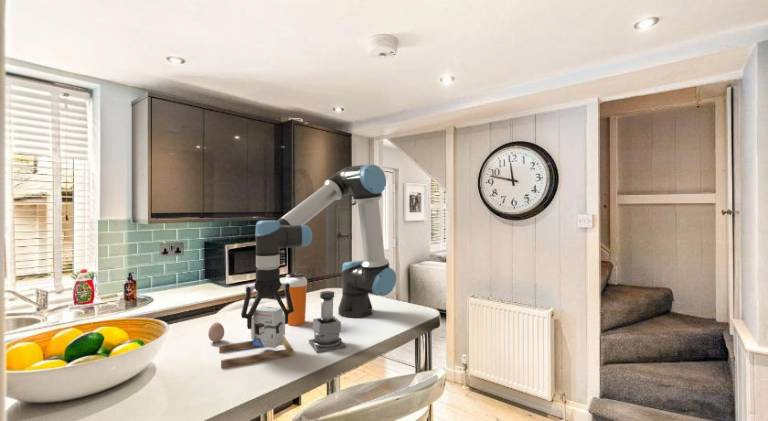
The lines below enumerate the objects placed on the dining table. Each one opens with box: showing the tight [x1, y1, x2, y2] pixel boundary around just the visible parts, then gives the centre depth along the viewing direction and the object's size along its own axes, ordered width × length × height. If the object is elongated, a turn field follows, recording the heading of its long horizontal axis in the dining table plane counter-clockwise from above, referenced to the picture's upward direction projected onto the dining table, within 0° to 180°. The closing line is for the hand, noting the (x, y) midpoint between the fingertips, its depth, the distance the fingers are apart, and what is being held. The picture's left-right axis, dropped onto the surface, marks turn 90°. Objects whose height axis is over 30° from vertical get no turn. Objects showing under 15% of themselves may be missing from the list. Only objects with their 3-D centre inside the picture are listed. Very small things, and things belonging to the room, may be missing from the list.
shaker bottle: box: [284, 272, 308, 327], centre depth 154 cm, size 9×9×20 cm
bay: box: [218, 335, 294, 369], centre depth 123 cm, size 21×14×2 cm, turn 116°
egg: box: [207, 321, 225, 343], centre depth 133 cm, size 5×5×7 cm
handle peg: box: [319, 290, 335, 324], centre depth 130 cm, size 5×5×13 cm
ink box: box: [252, 305, 284, 349], centre depth 124 cm, size 8×5×12 cm, turn 70°
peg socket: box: [308, 315, 347, 354], centre depth 130 cm, size 10×10×8 cm
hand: (268, 336), depth 125 cm, fingers closed on ink box, 9 cm apart
